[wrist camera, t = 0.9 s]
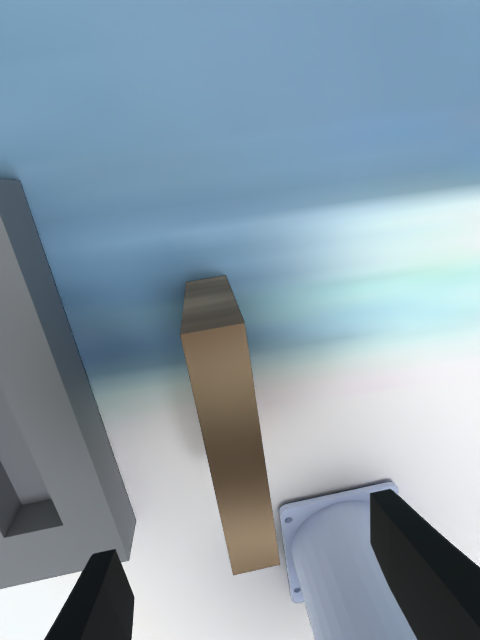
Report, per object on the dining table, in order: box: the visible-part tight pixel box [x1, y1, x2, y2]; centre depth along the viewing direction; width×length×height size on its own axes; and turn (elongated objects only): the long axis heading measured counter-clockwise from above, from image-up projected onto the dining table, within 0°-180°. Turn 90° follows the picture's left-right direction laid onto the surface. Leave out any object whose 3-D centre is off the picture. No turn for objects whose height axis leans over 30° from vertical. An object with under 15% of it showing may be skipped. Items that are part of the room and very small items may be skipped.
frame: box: [180, 275, 280, 575], centre depth 16 cm, size 11×2×7 cm, turn 8°
